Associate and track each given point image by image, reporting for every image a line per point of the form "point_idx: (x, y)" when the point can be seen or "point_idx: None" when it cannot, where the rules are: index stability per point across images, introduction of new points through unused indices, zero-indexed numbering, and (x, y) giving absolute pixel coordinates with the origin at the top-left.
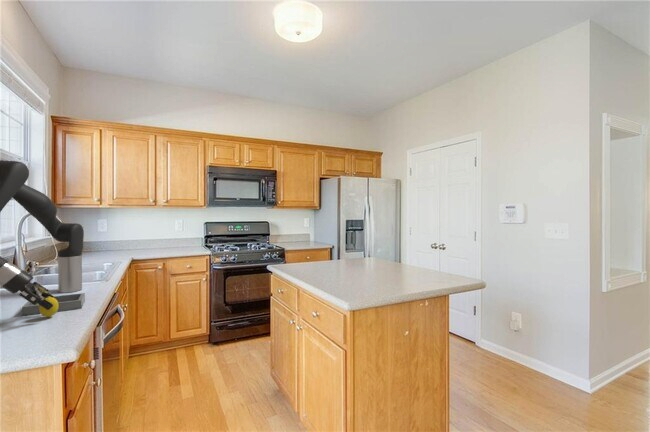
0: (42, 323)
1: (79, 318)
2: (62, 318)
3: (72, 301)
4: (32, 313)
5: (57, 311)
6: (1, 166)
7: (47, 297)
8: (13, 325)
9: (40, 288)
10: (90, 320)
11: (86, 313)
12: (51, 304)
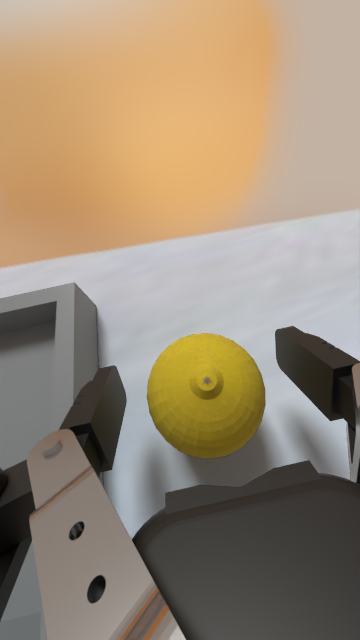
0: None
1: (250, 263)
2: (234, 327)
3: (73, 318)
4: None
5: None
6: None
7: (219, 388)
8: None
9: (142, 553)
10: (284, 222)
11: (183, 263)
12: (299, 330)
